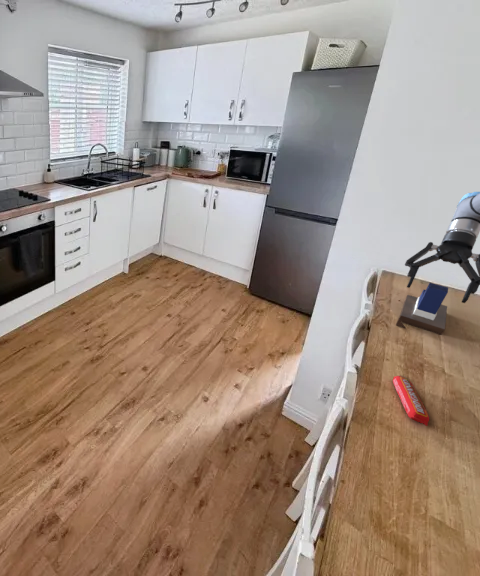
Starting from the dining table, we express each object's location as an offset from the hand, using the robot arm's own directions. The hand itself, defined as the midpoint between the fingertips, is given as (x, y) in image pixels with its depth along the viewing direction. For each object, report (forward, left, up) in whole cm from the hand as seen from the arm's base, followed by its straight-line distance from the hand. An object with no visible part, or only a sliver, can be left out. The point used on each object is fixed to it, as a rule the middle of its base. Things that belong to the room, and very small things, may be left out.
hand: (435, 293), depth 115 cm
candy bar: (+19, +43, -12) cm, 48 cm away
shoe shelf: (-2, -4, -12) cm, 13 cm away
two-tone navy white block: (-2, -4, -8) cm, 9 cm away
